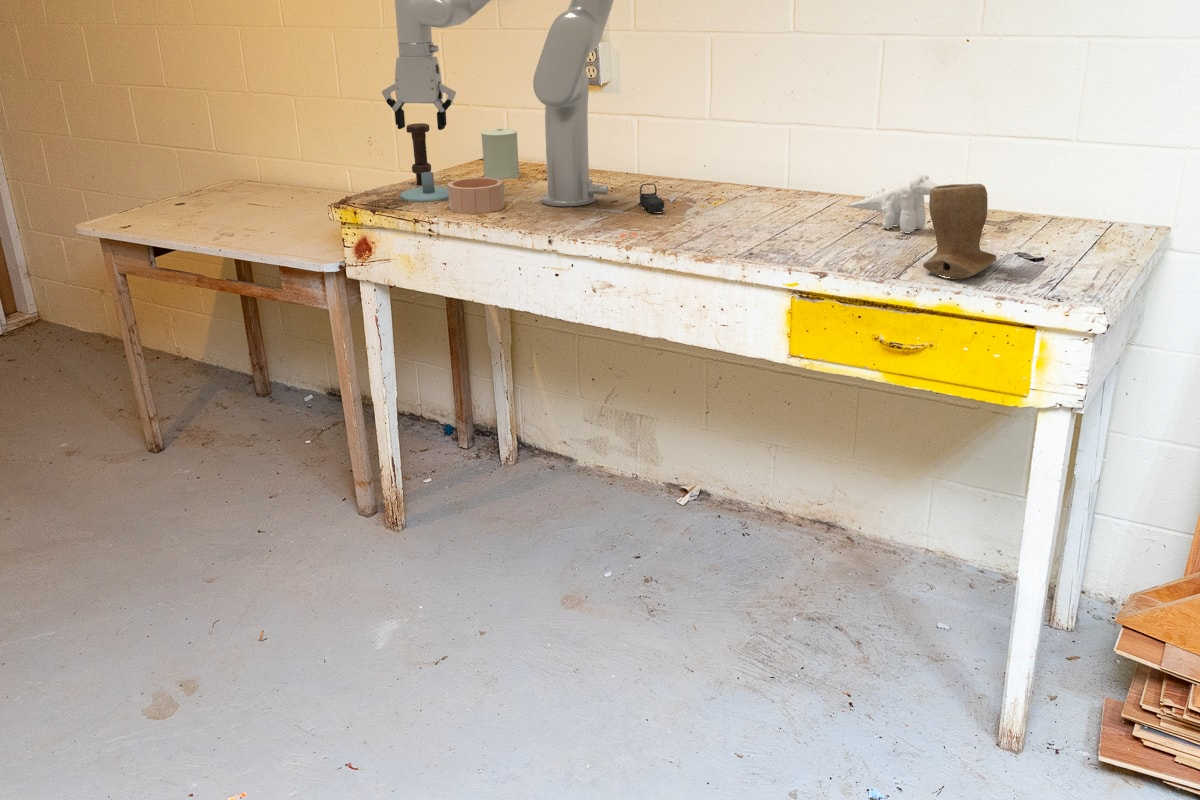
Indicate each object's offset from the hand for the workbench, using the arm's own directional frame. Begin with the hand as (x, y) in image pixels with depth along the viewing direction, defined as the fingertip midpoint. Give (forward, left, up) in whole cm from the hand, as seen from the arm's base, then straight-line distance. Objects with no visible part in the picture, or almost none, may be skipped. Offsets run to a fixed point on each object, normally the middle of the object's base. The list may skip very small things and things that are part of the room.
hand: (421, 128), depth 241 cm
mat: (0, 0, -16) cm, 16 cm away
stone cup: (-113, +50, -16) cm, 125 cm away
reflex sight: (-55, +8, -17) cm, 57 cm away
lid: (0, 0, -16) cm, 16 cm away
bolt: (+6, -13, -16) cm, 22 cm away
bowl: (-15, +11, -16) cm, 25 cm away
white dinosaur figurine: (-105, +21, -16) cm, 109 cm away
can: (-11, -25, -16) cm, 32 cm away
